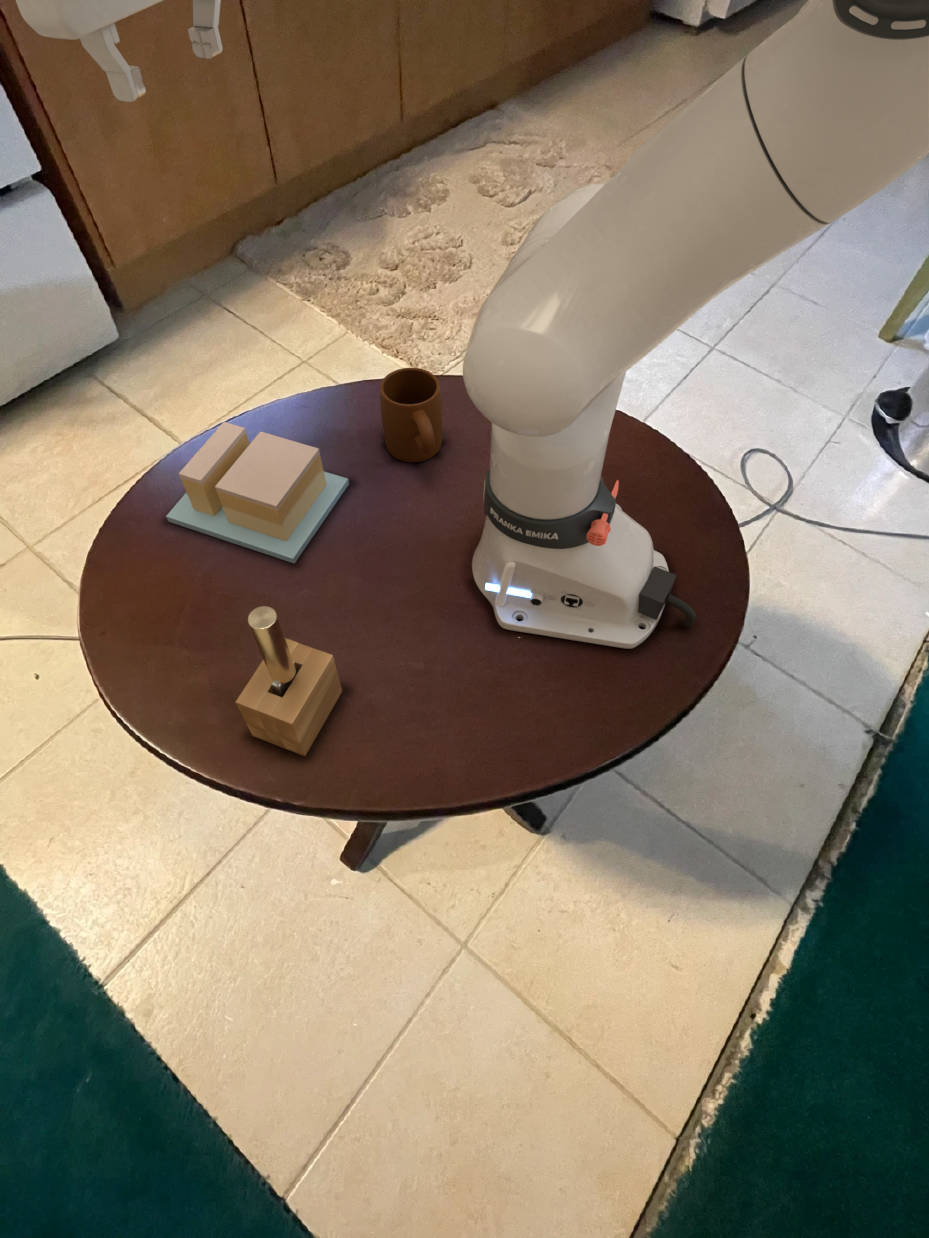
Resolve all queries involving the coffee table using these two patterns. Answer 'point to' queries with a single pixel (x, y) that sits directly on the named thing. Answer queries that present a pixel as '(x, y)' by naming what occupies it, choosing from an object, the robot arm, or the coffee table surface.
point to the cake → (269, 499)
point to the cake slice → (213, 466)
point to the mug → (411, 414)
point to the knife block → (292, 700)
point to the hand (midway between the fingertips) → (172, 76)
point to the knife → (273, 648)
